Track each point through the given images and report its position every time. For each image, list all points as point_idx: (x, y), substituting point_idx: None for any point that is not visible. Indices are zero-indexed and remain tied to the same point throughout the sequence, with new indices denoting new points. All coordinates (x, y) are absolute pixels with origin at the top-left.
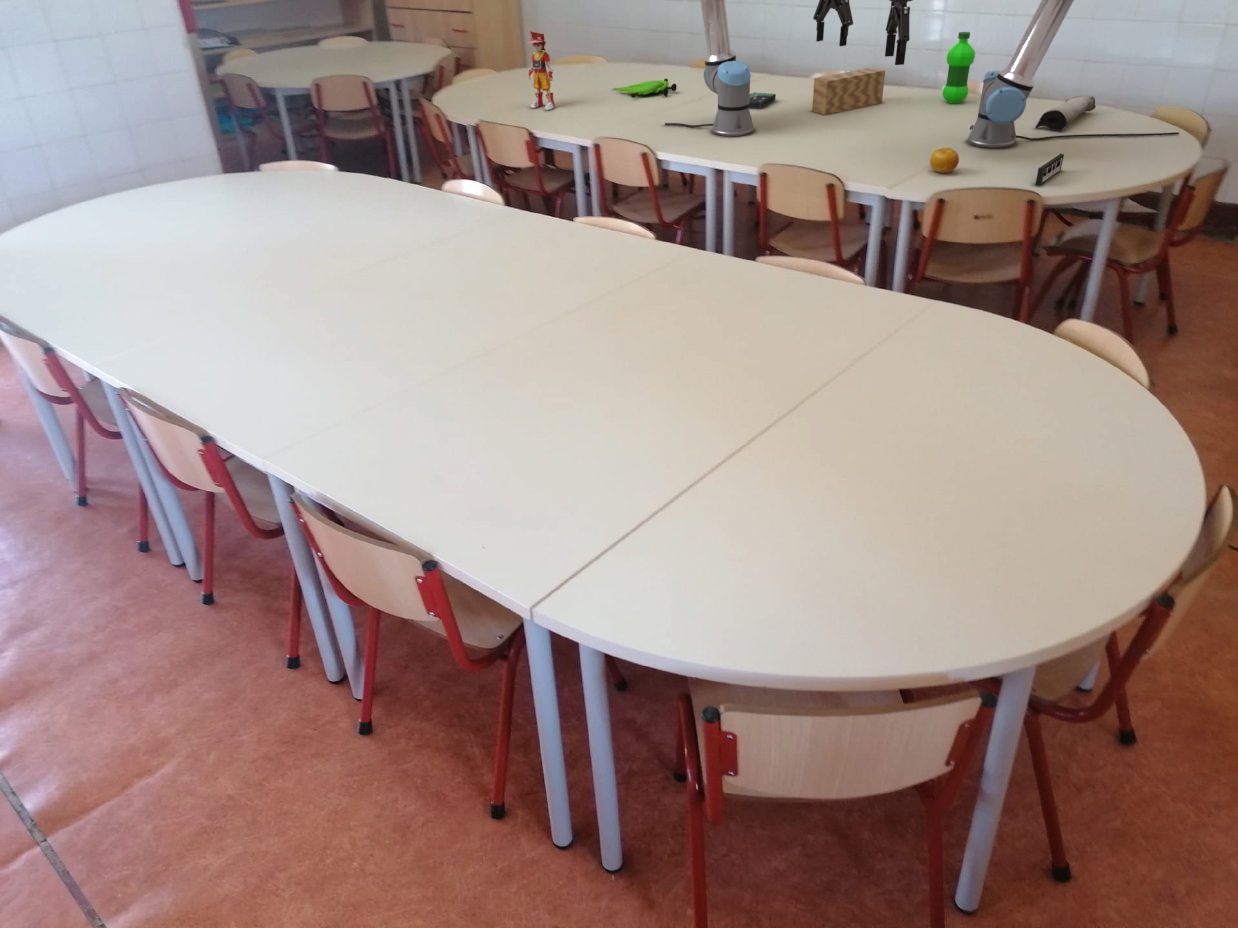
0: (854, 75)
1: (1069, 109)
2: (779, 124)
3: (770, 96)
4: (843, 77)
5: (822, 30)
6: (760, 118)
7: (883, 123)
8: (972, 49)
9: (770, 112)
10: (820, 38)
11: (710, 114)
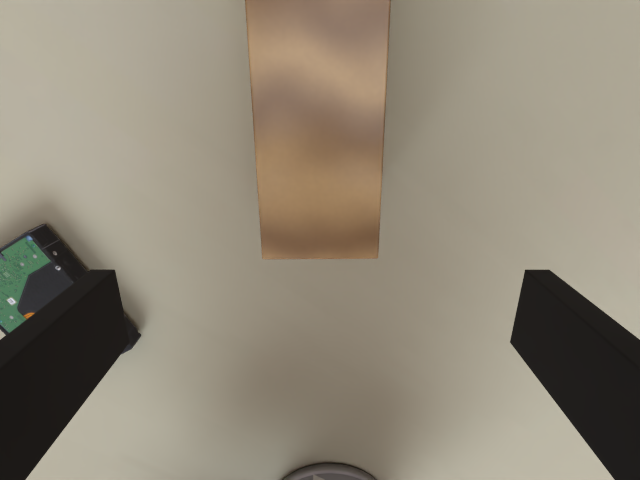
0: (370, 10)
1: None
2: (353, 386)
3: (59, 272)
4: (365, 116)
5: (39, 364)
6: (250, 389)
7: (631, 107)
8: None
9: (199, 327)
10: (106, 324)
11: (115, 462)
